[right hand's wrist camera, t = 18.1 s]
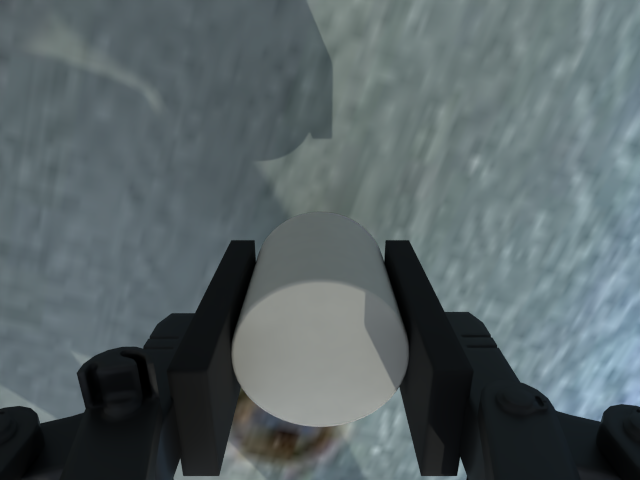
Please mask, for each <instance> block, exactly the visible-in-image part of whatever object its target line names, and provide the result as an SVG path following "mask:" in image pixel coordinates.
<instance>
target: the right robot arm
mask: <svg viewBox="0 0 640 480" xmlns="http://www.w3.org/2000/svg"><path fill="white" fill-rule="evenodd" d="M384 263H385V267H386V270H387V273H388V276H389V279H390V282H391V285H392V289H393V292H394V295H395V298H396V301H397V304H398V307H399V311H400V314H401V317H402V320H403V323H404V326H405V329H406V333H407V336H408V341H409V361H408V367H407V370H406V374H405V376H404V378H403V381H402V383H401V384H400V386H399V387H400V391H401V395H402V399H403V403H404V407H405V412H406V416H407V420H408V424H409V428H410V432H411V436H412V440H413V444H414V448H415V453H416V457H417V461H418V465H419V469H420V473H421V476H457V473H458V466H459V460H460V457H461V460H462V463H463V466H464V468H465V471H466V474H467V479H466V480H640V407H638V406H633V405H624V404H620V405H615V406H610V407H609V408H608V409H607V410H606V411H604V413H603V416H602V419H601V422H599V421H595V420H590V419H586V418H581V417H577V416H573V415H568V414H565V413H562V412H558V411H556V410H555V409H554V407H553V405H552V404H551V402H550V401H549V399H548V398H547V397H546V396H544V395H543V394H542V393H541V392H539V391H538V390H537V389H535V388H533V387H530V386H528V385H526V384H524V383H520V381H519V380H518V378H517V376H516V375H515V373H514V372H513V370H512V368H511V367H510V365H509V364H508V362H507V360H506V359H505V357H504V356H503V354H502V352H501V351H500V349H499V348H497V344H496V343H495V341H494V340H493V338H492V337H491V335H490V333H489V332H488V330H487V328H486V327H485V325H484V324H483V322H481V321H480V320H479V319H477V318H476V317H475V316H473V315H472V314H470V313H469V312H444V310H443V308H442V306H441V304H440V302H439V300H438V298H437V296H436V294H435V292H434V290H433V288H432V286H431V284H430V282H429V280H428V278H427V276H426V274H425V272H424V270H423V268H422V266H421V264H420V262H419V260H418V258H417V256H416V254H415V252H414V250H413V248H412V246H411V244H410V242H409V240H386V244H385V261H384ZM255 264H256V257H255V240H231V242H230V244H229V246H228V248H227V250H226V252H225V254H224V256H223V258H222V260H221V262H220V264H219V266H218V268H217V270H216V272H215V274H214V276H213V278H212V280H211V282H210V284H209V286H208V288H207V290H206V292H205V294H204V296H203V298H202V300H201V302H200V304H199V306H198V308H197V310H196V313H172V314H170V315H169V316H168V317H166V318H165V319H164V320H162V321H161V322H160V323H158V324H157V326H156V327H155V329H154V331H153V332H152V334H151V335H150V339H148V340H147V342H146V343H145V345H144V348H143V349H142V348H138V347H120V348H115V349H111V350H107V351H105V352H103V353H100V354H98V355H96V356H94V357H92V358H91V359H90V360H88V361H87V362H85V363H84V364H83V365H82V367H81V368H80V369H79V371H78V372H77V376H78V380H79V384H80V388H81V392H82V396H83V399H84V403H85V407H86V409H85V412H84V413H81V414H78V415H75V416H71V417H67V418H62V419H58V420H54V421H49V422H45V423H41V424H40V421H39V418H38V415H37V413H36V412H35V411H33V410H32V409H31V408H27V407H22V406H15V407H6V408H2V409H0V480H174V479H173V477H174V474H175V471H176V469H177V466H178V463H179V460H180V458H181V465H182V471H183V476H219V474H220V470H221V466H222V462H223V458H224V454H225V450H226V445H227V441H228V437H229V433H230V429H231V425H232V421H233V417H234V413H235V408H236V404H237V400H238V396H239V392H240V388H241V385H240V384H239V382H238V380H237V377H236V375H235V372H234V369H233V365H232V357H231V344H232V339H233V335H234V331H235V328H236V324H237V321H238V318H239V315H240V312H241V309H242V305H243V302H244V299H245V296H246V293H247V290H248V286H249V283H250V280H251V277H252V274H253V270H254V267H255Z"/></svg>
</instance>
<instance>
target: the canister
mask: <svg viewBox="0 0 640 480" xmlns="http://www.w3.org/2000/svg"><path fill="white" fill-rule="evenodd" d="M231 357H232V365H233V369H234V372H235V375H236V377H237V380H238V382H239V384H240V385H241V387H242V389H243V390H244V392H245V393H246V394H247V395H248V397H249V398H250V399H251V400H252V401H253V402H254V403H255V404H256V405H258V406H259V407H260V408H262V409H263V410H264V411H266V412H268V413H269V414H271V415H273V416H275V417H277V418H279V419H282V420H284V421H287V422H290V423H294V424H299V425H304V426H313V427H327V426H336V425H342V424H346V423H350V422H353V421H356V420H358V419H361V418H363V417H366V416H367V415H369V414H371V413H373V412H374V411H376V410H377V409H379V408H380V407H381V406H383V405H384V404H385V403H386V402H387V401H388V400H389V399H390V398H391V397H392V396H393V395H394V393H395V392H396V391H397V389H398V388H399V386H400V384H401V383H402V381H403V378H404V376H405V374H406V370H407V367H408V361H409V341H408V336H407V333H406V329H405V326H404V323H403V320H402V317H401V314H400V311H399V307H398V304H397V301H396V298H395V295H394V292H393V289H392V285H391V282H390V279H389V276H388V273H387V270H386V267H385V263H384V260H383V257H382V254H381V251H380V249H379V246H378V245H377V243H376V241H375V239H374V238H373V237H372V235H371V234H370V233H369V232H368V231H367V230H366V229H365V228H364V227H363V226H361V225H360V224H359V223H357V222H355V221H354V220H352V219H350V218H348V217H345V216H343V215H339V214H335V213H330V212H311V213H305V214H301V215H298V216H295V217H292V218H290V219H288V220H287V221H285V222H283V223H282V224H280V225H279V226H277V227H276V228H275V229H274V230H273V231H272V232H271V233H270V234H269V236H268V237H267V238H266V240H265V241H264V243H263V245H262V247H261V249H260V252H259V255H258V258H257V261H256V264H255V267H254V270H253V274H252V277H251V280H250V283H249V286H248V290H247V293H246V296H245V299H244V302H243V305H242V309H241V312H240V315H239V318H238V321H237V324H236V328H235V331H234V335H233V339H232V344H231Z"/></svg>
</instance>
